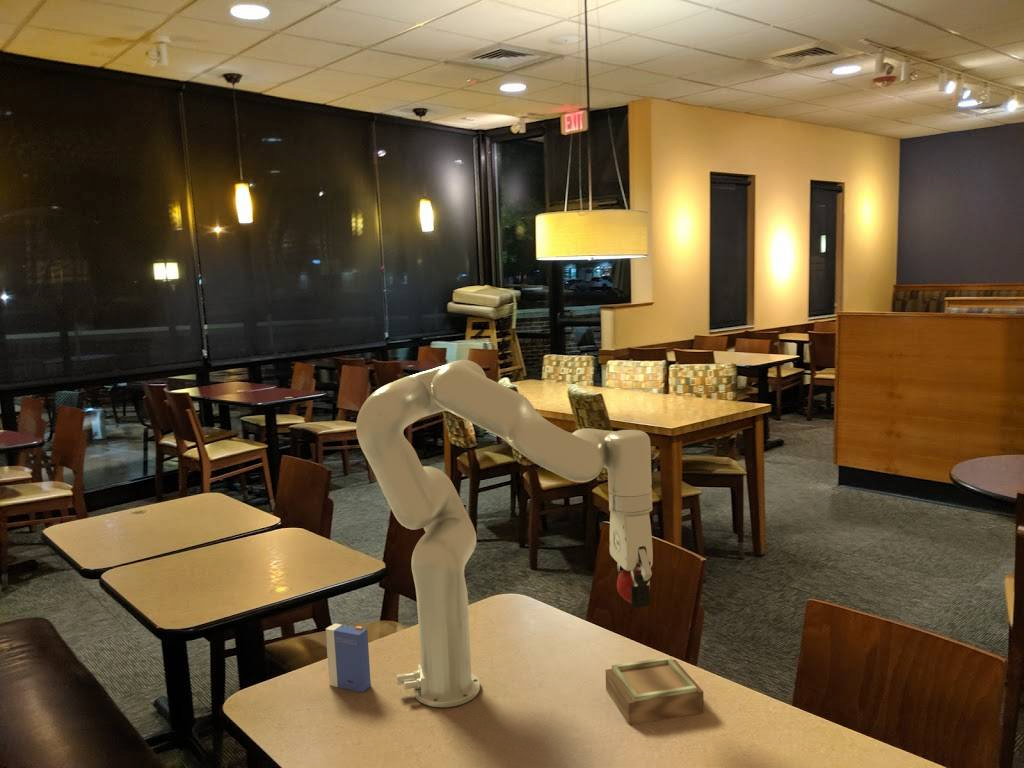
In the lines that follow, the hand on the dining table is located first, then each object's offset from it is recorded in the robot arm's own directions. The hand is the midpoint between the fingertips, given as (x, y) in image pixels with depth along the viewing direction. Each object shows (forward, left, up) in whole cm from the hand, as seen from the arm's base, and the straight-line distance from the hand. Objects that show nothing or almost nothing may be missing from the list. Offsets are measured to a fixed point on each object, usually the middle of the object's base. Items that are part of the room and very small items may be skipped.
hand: (633, 598), depth 141 cm
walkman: (-51, +21, -20) cm, 58 cm away
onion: (0, 0, -1) cm, 1 cm away
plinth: (+3, 0, -20) cm, 20 cm away
